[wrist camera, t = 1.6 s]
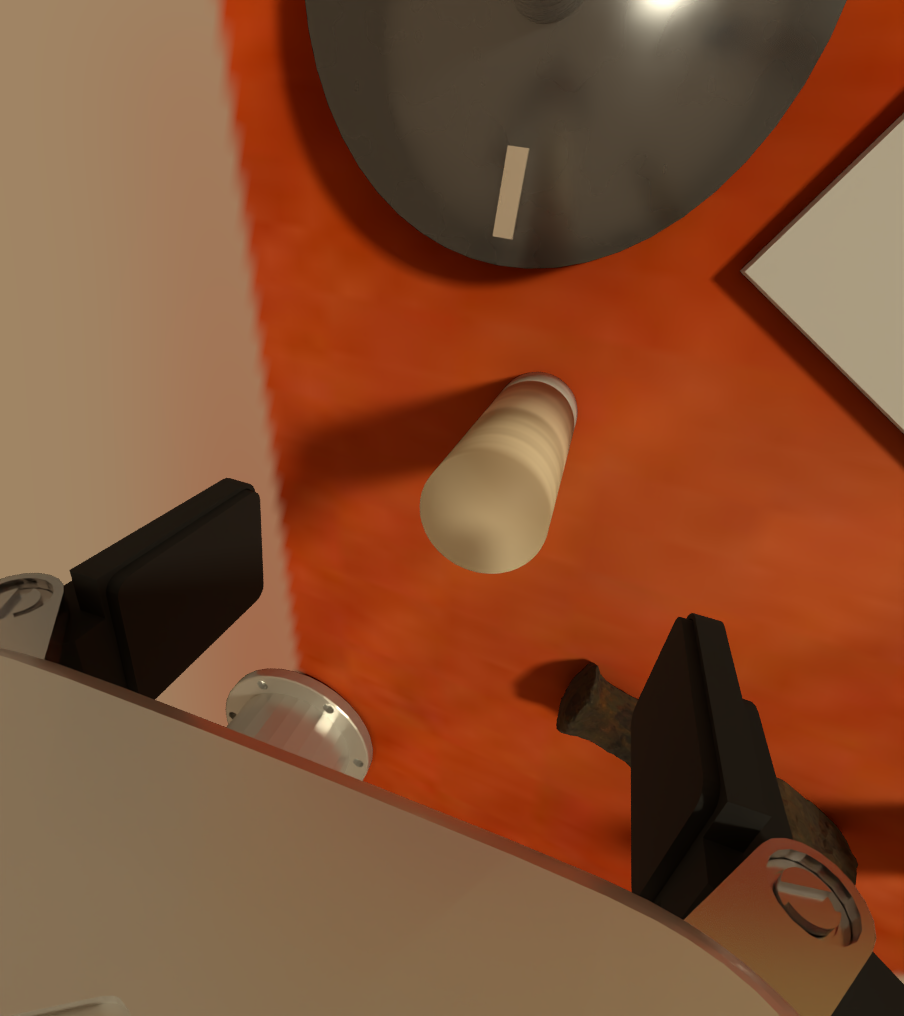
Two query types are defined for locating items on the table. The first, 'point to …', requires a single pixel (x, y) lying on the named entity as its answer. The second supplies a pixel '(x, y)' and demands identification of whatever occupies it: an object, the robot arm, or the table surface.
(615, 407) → the table surface
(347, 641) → the table surface
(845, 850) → the hand tool
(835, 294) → the mat
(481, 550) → the beige rounded cylinder
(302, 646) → the table surface
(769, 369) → the table surface
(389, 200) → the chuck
